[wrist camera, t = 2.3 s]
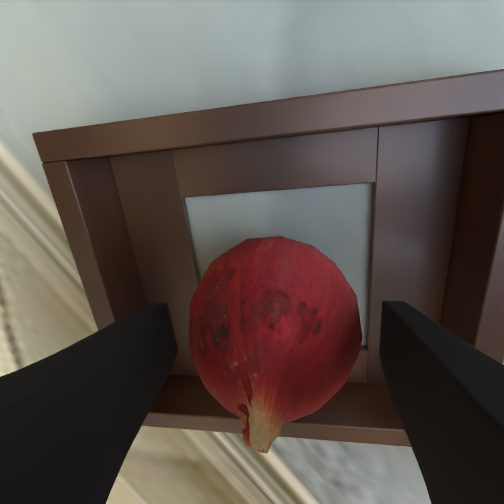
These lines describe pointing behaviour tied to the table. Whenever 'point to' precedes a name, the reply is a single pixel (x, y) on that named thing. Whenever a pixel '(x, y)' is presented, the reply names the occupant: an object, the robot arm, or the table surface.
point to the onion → (273, 333)
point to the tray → (291, 177)
